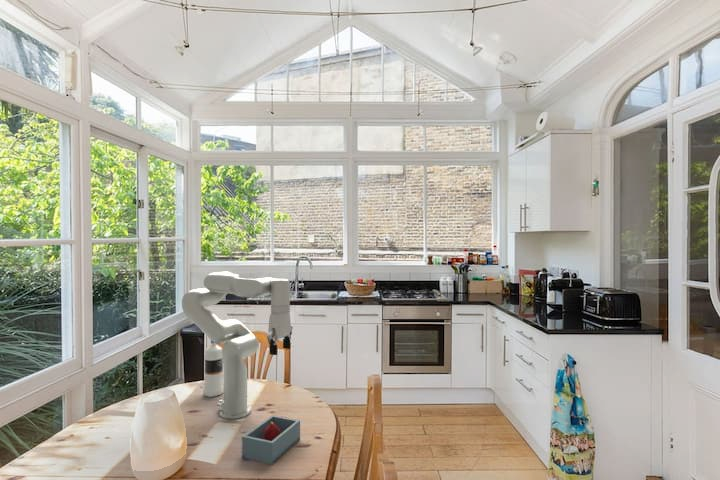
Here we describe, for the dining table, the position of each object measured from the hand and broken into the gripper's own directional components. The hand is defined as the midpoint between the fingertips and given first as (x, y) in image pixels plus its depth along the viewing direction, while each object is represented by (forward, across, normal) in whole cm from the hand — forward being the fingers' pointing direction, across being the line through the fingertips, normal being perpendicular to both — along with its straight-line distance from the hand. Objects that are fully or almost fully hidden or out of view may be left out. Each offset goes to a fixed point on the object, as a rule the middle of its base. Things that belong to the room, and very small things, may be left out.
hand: (280, 351), depth 162 cm
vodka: (+28, -14, -46) cm, 56 cm away
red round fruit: (+28, +19, +9) cm, 35 cm away
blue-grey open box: (+28, +19, +9) cm, 35 cm away
